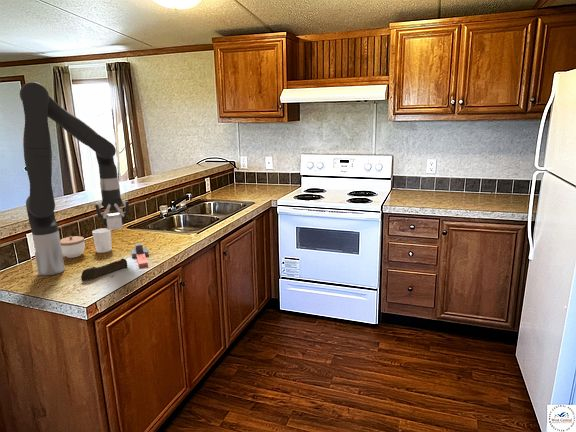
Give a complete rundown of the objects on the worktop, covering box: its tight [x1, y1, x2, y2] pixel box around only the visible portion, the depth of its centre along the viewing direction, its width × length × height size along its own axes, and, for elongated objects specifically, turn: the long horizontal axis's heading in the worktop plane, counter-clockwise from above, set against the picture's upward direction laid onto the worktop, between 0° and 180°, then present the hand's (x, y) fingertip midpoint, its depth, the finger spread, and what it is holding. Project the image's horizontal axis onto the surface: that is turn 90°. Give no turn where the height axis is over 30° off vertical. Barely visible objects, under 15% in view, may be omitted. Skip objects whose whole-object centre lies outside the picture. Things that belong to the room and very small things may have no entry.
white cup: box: [91, 227, 113, 254], centre depth 190 cm, size 8×8×10 cm
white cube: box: [106, 212, 124, 231], centre depth 177 cm, size 6×6×6 cm
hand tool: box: [80, 258, 128, 282], centre depth 163 cm, size 19×4×5 cm, turn 141°
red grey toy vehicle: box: [130, 242, 149, 269], centre depth 178 cm, size 7×21×5 cm, turn 25°
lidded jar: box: [60, 235, 86, 259], centre depth 184 cm, size 11×11×9 cm
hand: (114, 225), depth 178 cm, fingers closed on white cube, 6 cm apart
